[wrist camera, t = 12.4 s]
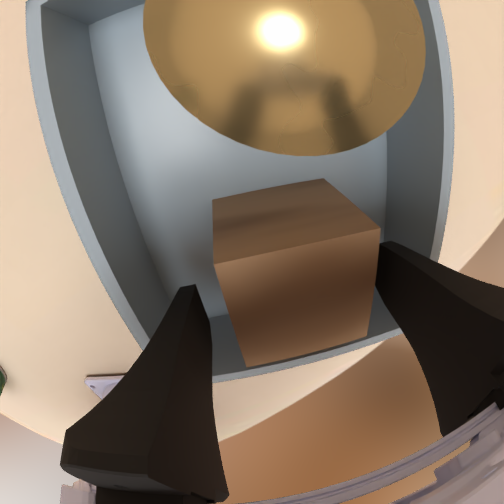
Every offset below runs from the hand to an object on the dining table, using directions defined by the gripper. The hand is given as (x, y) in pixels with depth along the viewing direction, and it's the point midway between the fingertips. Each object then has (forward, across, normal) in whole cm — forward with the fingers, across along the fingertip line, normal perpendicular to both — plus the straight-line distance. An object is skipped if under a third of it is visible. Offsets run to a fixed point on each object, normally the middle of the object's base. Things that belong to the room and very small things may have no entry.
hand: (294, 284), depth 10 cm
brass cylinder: (+3, 0, -8) cm, 9 cm away
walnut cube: (+3, 0, 0) cm, 3 cm away
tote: (+4, 0, -4) cm, 6 cm away
